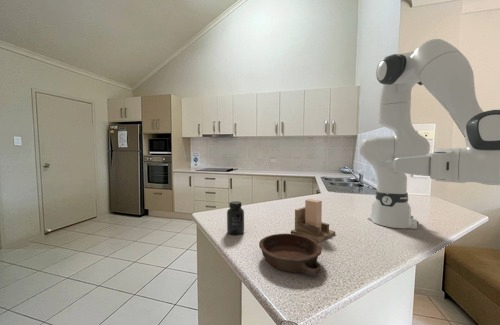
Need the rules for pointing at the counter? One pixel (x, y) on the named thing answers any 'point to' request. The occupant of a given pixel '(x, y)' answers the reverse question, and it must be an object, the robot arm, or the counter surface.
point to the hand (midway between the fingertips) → (385, 163)
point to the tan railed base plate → (310, 228)
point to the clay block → (313, 212)
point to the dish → (291, 253)
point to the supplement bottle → (235, 218)
